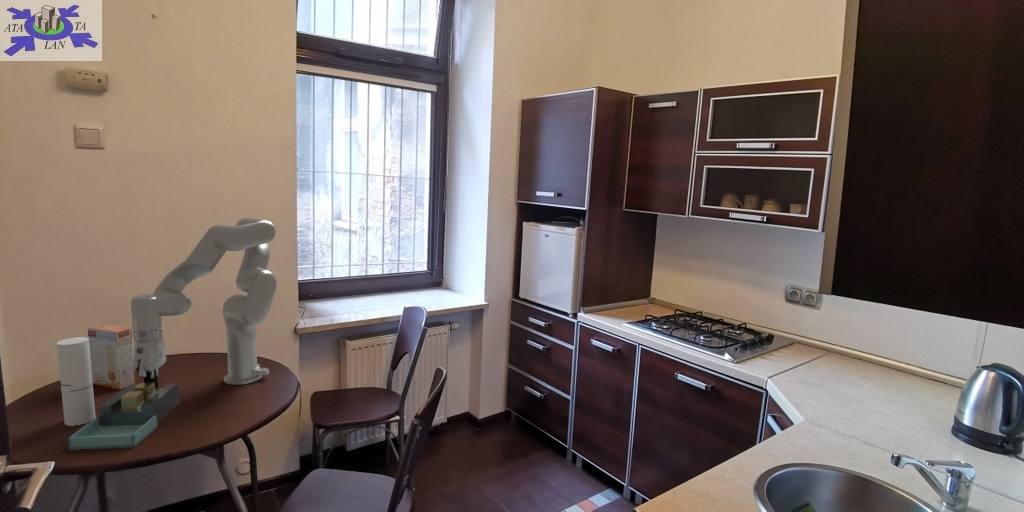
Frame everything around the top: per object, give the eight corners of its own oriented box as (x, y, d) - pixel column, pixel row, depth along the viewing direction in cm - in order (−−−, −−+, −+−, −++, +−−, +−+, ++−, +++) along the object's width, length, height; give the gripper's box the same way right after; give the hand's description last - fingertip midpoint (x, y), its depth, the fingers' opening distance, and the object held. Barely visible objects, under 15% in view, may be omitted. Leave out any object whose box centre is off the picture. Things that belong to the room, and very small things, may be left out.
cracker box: (136, 384, 180) (132, 327, 177) (118, 390, 175) (114, 332, 172) (109, 378, 185) (105, 322, 182) (91, 384, 179) (86, 327, 176)
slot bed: (179, 403, 167) (178, 383, 166) (153, 426, 151) (152, 404, 150) (132, 404, 165) (130, 384, 164) (101, 428, 149) (99, 406, 148)
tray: (157, 426, 151) (156, 415, 151) (134, 447, 140) (133, 435, 139) (97, 428, 149) (96, 417, 148) (69, 450, 137) (67, 438, 137)
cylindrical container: (76, 415, 157) (69, 337, 153) (101, 415, 157) (94, 337, 154) (58, 426, 150) (50, 344, 146) (84, 426, 150) (76, 344, 147)
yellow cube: (144, 403, 155) (143, 391, 155) (136, 409, 151) (135, 396, 151) (129, 403, 154) (128, 391, 154) (121, 409, 151) (120, 396, 150)
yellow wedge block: (155, 394, 162) (154, 382, 161) (148, 399, 158) (147, 387, 157) (141, 394, 161) (140, 382, 160) (134, 400, 157) (133, 388, 156)
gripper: (148, 341, 154) (151, 398, 157) (172, 327, 169) (175, 379, 171) (120, 341, 153) (124, 399, 155) (147, 327, 167) (151, 380, 170)
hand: (151, 388), depth 163 cm, fingers closed
